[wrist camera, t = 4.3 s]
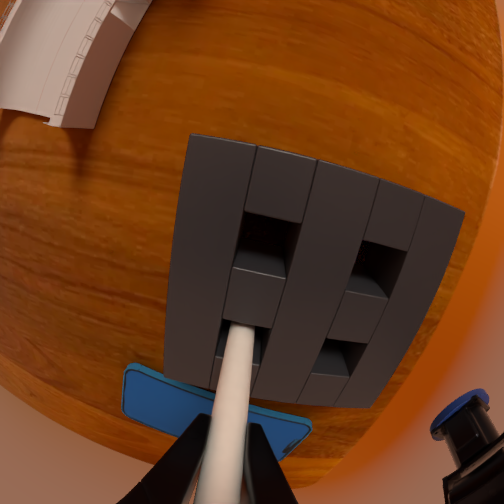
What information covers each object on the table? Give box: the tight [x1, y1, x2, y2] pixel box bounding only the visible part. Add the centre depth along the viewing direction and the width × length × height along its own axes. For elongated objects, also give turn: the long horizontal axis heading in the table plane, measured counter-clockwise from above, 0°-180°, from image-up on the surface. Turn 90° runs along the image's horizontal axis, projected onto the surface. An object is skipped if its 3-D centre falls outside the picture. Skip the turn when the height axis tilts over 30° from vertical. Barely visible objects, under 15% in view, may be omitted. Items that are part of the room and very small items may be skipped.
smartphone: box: [121, 363, 312, 461], centre depth 19 cm, size 7×1×15 cm
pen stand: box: [163, 133, 465, 408], centre depth 13 cm, size 12×12×4 cm
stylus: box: [193, 321, 255, 504], centre depth 8 cm, size 1×1×11 cm
